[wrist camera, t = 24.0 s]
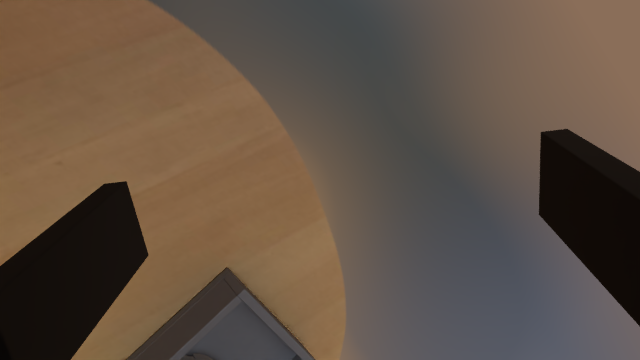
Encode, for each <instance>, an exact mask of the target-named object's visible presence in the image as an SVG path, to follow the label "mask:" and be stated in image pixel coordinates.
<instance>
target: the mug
mask: <svg viewBox="0 0 640 360" xmlns="http://www.w3.org/2000/svg"><path fill="white" fill-rule="evenodd" d="M180 360H212V359H211V358H210V357H208V356H206V355H203V354H198V353H194V354H193V355H192V356H187V355H184V356H183V357H182V358H181V359H180Z"/></svg>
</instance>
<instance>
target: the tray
mask: <svg viewBox="0 0 640 360" xmlns="http://www.w3.org/2000/svg"><path fill="white" fill-rule="evenodd" d="M194 353H198V354H203V355H206V356H208V357H210V358H211V359H212V360H315V359H314V358H313V356H312V355H311V354H310V353H309V352H308V351H307V349H306V348H305V347H304V346H303V345H302V344H301V343H300V342H299V341H298V340H297V339H296V338H295V337H294V336H293V335H292V334H291V333H290V332H289V330H288V329H287V328H286V327H285V326H284V325H283V324H282V323H281V322H280V321H279V320H278V319H277V318H276V317H275V316H274V315H273V314H272V313H271V312H270V311H269V310H268V309H267V308H266V307H265V306H264V305H263V304H262V303H261V302H260V301H259V300H258V299H257V298H256V296H255V295H254V294H253V293H252V292H251V291H250V290H249V289H248V288H247V287H246V286H245V285H244V284H243V283H242V282H241V281H240V280H239V279H238V278H237V277H236V276H235V275H234V274H233V273H232V272H231V271H230V270H229V269H228V268H226V269H225V270H224V271H223V272H222V273H220V274H219V275H218V276H217V277H216V278H215V279H214V280H213V281H212V282H211V283H210V284H208V285H207V286H206V287H205V288H204V289H203V290H202V291H201V292H200V293H199V294H198V295H196V296H195V297H194V298H193V299H192V300H191V301H190V302H189V303H188V304H187V305H185V306H184V307H183V308H182V309H181V310H180V311H179V312H178V313H177V314H176V315H175V316H173V317H172V318H171V319H170V320H169V321H168V322H167V323H166V324H165V325H164V326H163V327H161V328H160V329H159V330H158V331H157V332H156V333H155V334H154V335H153V336H152V337H151V338H149V339H148V340H147V341H146V342H145V343H144V344H143V345H142V346H141V347H140V348H139V349H137V350H136V351H135V352H134V353H133V354H132V355H131V356H130V357H129V358H128V359H127V360H180V359H181V358H182V357H183V356H184V355H187V356H192V355H193V354H194Z"/></svg>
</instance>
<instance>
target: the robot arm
mask: <svg viewBox="0 0 640 360" xmlns="http://www.w3.org/2000/svg"><path fill="white" fill-rule="evenodd" d="M539 215H540V216H541V217H542V218H543V219H544V221H545V222H546V223H547V224H548V225H549V226H550V227H551V228H552V229H553V230H554V232H556V234H557V235H558V236H559V237H560V238H561V239H562V240H563V242H564V243H565V244H566V245H567V246H568V247H569V248H570V249H571V250H572V252H573V253H574V254H575V255H576V256H577V257H578V258H579V259H580V260H581V261H582V263H583V264H584V265H585V266H586V267H587V268H588V269H589V270H590V272H591V273H592V274H593V275H594V276H595V277H596V278H597V279H598V280H599V282H601V284H602V285H603V286H604V287H605V288H606V289H607V290H608V291H609V293H610V294H611V295H612V296H613V297H614V298H615V299H616V300H617V302H618V303H619V304H620V305H621V306H622V307H623V308H624V309H625V310H626V311H627V313H628V314H629V315H630V316H631V317H632V318H633V319H634V320H635V321H636V323H637V324H638V325H639V326H640V172H639V171H637V170H636V169H634V168H632V167H630V166H629V165H627V164H625V163H624V162H622V161H620V160H619V159H617V158H615V157H613V156H612V155H610V154H608V153H607V152H605V151H604V150H602V149H600V148H598V147H597V146H595V145H593V144H592V143H590V142H588V141H587V140H585V139H583V138H582V137H580V136H578V135H576V134H575V133H573V132H571V131H570V130H568V129H564V130H554V131H546V132H541V150H540V194H539ZM147 257H148V252H147V248H146V245H145V242H144V238H143V235H142V232H141V228H140V225H139V222H138V218H137V215H136V212H135V208H134V205H133V202H132V198H131V195H130V192H129V188H128V185H127V181H125V182H117V183H108V184H104V185H102V186H101V187H100V188H98V189H97V190H96V191H95V192H93V193H92V194H91V195H90V196H88V197H87V198H86V199H85V200H83V201H82V202H81V203H80V204H78V205H77V206H76V207H74V208H73V209H72V210H71V211H69V212H68V213H67V214H66V215H64V216H63V217H62V218H61V219H59V220H58V221H57V222H56V223H54V224H53V225H52V226H50V227H49V228H48V229H47V230H45V231H44V232H43V233H42V234H40V235H39V236H38V237H37V238H35V239H34V240H33V241H32V242H30V243H29V244H28V245H26V246H25V247H24V248H23V249H21V250H20V251H19V252H18V253H16V254H15V255H14V256H13V257H11V258H10V259H9V260H7V261H6V262H5V263H4V264H2V265H1V266H0V360H71V358H72V357H73V356H74V354H75V353H76V352H77V350H78V349H79V348H80V346H81V345H82V344H83V342H84V341H85V340H86V338H87V337H88V336H89V334H90V333H91V332H92V330H93V329H94V328H95V326H96V325H97V324H98V322H99V321H100V320H101V318H102V317H103V316H104V314H105V313H106V312H107V310H108V309H109V307H110V306H111V305H112V303H113V302H114V301H115V299H116V298H117V297H118V295H119V294H120V293H121V291H122V290H123V289H124V287H125V286H126V285H127V283H128V282H129V281H130V279H131V278H132V277H133V275H134V274H135V273H136V271H137V270H138V269H139V267H140V266H141V265H142V263H143V262H144V261H145V259H146V258H147Z"/></svg>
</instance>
